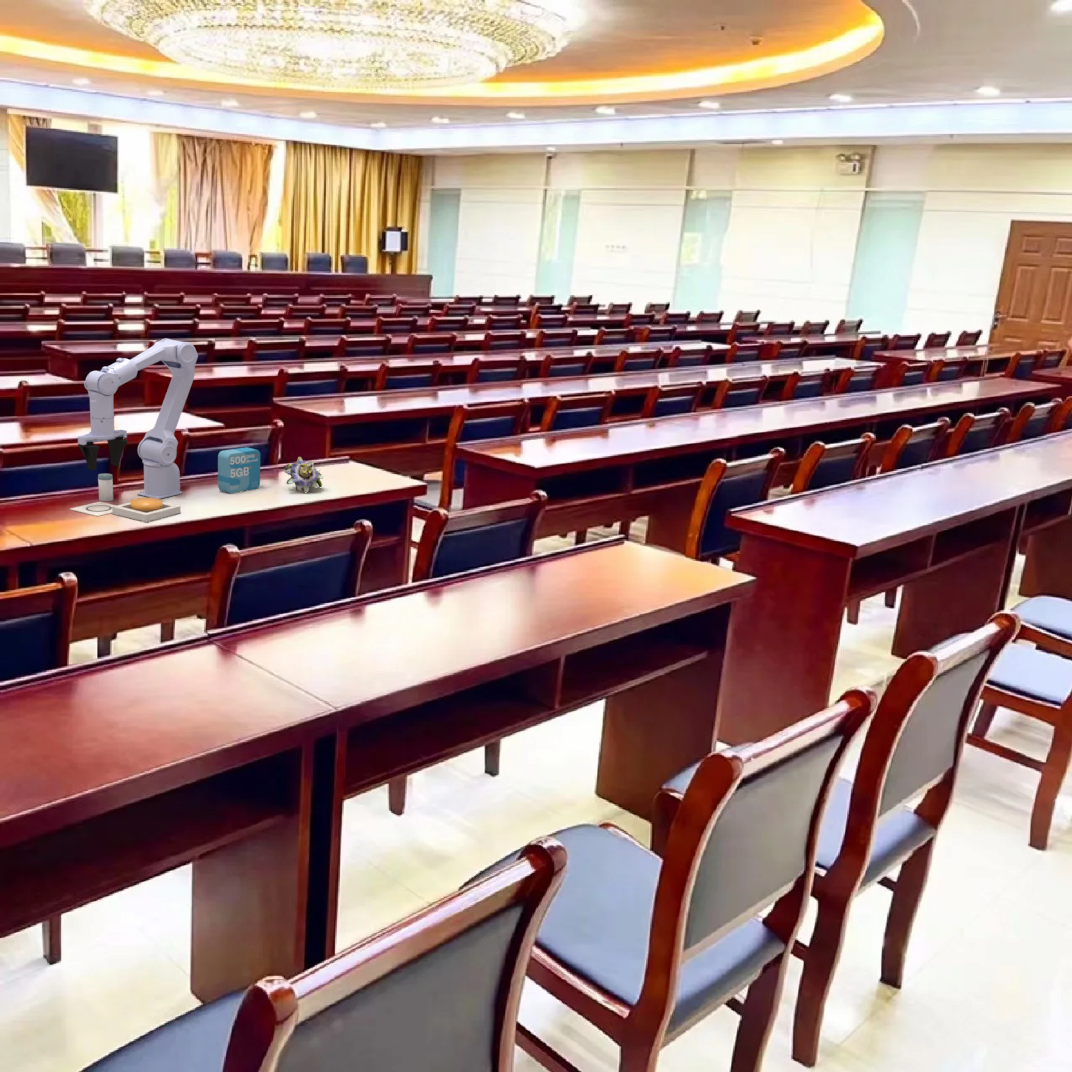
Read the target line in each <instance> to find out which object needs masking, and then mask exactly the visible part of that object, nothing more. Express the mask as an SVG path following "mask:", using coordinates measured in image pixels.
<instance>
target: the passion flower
mask: <svg viewBox="0 0 1072 1072" xmlns="http://www.w3.org/2000/svg"><path fill="white" fill-rule="evenodd" d="M283 469H284V473H285V474H287V475H288V476H290V478H288V479H287V480H286V484H287V485H292V484H294V485H295V490H296V491H297V492H299V491H302V492H303V491H304V492H309V490H310V487H312V488H314V489H316V490H317V489H318V488H320V487H321V488H322V487H323V483H322V481H321V480H323V479H324V475H323V474H321V473H320V471H321V468H319V467H318V468H316V467H315V462H314V461H313V460H312V461H307V462H306V461H305V459H304V460H303V458H302V457H301V456H298V458H297V460H296V461H295V462H292V464H291V463H286V465H285V464H284V466H283ZM318 486H319V487H318ZM304 492H303V493H304Z"/></svg>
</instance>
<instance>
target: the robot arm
mask: <svg viewBox="0 0 1072 1072" xmlns="http://www.w3.org/2000/svg"><path fill="white" fill-rule="evenodd" d="M198 357H199V354H198V352H197V350H196V347H195V346H194V345H193V343H192V342H188V341H180V340H177V339H176V340H175V339H170V338H167V337H166V338H162V339H161V340H159V341H155V343H154V345H152V346H151V347H149V348H148V349H145V350H144V351H142V352H141V353H139V354H138V355H135V356H134V357H132V358H131V359H128V358H126V357H125V358H124V357H123V358H122V357H118V358H117V359H116V361H115V362H114V363H112V364H110V365H107V366H103V367H102V368H101V369H100V370H93V371H90V372H89V373H88V374H87V376H86V378H85V381H83V386H84V388H85V389H86V390H87V392H88V393H87V394H88V398H89V412H90V417H89V418H90V431H89V433H86V434H83V435H80V436H79V435H78V436H77V446H78V448H79V450H80V451H81V452H82V454H83V456H84V459H85V461H86V465H87V467H88V470H89V471H96V470H97V469H98V467H97V466H98V465H97V464H98V460H97V459H98V453H99V449H100V445H97V444H95V443H99V442H104V441H105V442H107V444H108V448H109V449H108V450H109V454H110V455H109V457H110V463H111V466H115V467H120V466H119V465H120V462H121V458H122V455H123V451H124V449H125V447H126V446H127V444H128V439H127V438H128V435H127V434H128V433H127V430H124V429H116V430H115V415H114V413H115V412H114V394H116V392H117V390H118V389H119V387H121V386H122V385H124V384H125V383H128V382H129V381H131V380H133V379H135V378H136V377H137V376H138V375H137V374H138V371H141V370H143V369H145V368H148V367H150V366H152V365H154V364H156V363H158V362H160V361H161V362H162V363H163V364H164V365H165V366H166V367H167V368H168V370H169V371H170V373H171V376H172V377H171V380H170V382H169V385H168V388H167V390H166V391H167V392H166V393H165V396H164V399H163V402H162V404H161V407H160V409H159V410H160V411H159V412H158V416H157V418H156V421H155V423H154V427H153V428H151V429H149V431H147V432H146V433H145V435H144V437H143V439H142V440H141V441H140V442H139V444H138V446H137V454H138V456H139V458H141V460H142V464H143V482H144V484H143V486H144V487H143V491H139V492H137V495H138V496H142V497H145V498H157V499H161V500H162V499H166V498H169V497H172V496H177V495H180V494H181V495H182V493H183V491H182V490H181V482H180V481H181V474H180V469H179V467H178V465H177V464H176V463H175V460H176V458H177V455H178V454H177V453H178V452H177V449H178V448H177V447H178V446H179V445H178V444H179V441H178V440H177V438H176V437H175V432H176V429H177V427H178V424H179V420H180V419H181V415H182V413H183V410H184V407H185V404H186V401H187V399H188V396H189V393H190V390H191V387H192V384H193V381H194V379H195V375H196V373H195V372H196V371H195V370H196V363H197V360H198Z"/></svg>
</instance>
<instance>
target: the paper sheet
mask: <svg viewBox="0 0 1072 1072" xmlns="http://www.w3.org/2000/svg"><path fill="white" fill-rule="evenodd" d="M113 506H117V505H115V504H111V503H106V502H105V501H97V502H93V503H88V504H84V505H80V506H76V507H75V506H74V507H71V508H69V510H70V511H74V512H78V513H83V514H85V515H90V516H95V517H100V516H105V515H109V514H112V507H113Z"/></svg>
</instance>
